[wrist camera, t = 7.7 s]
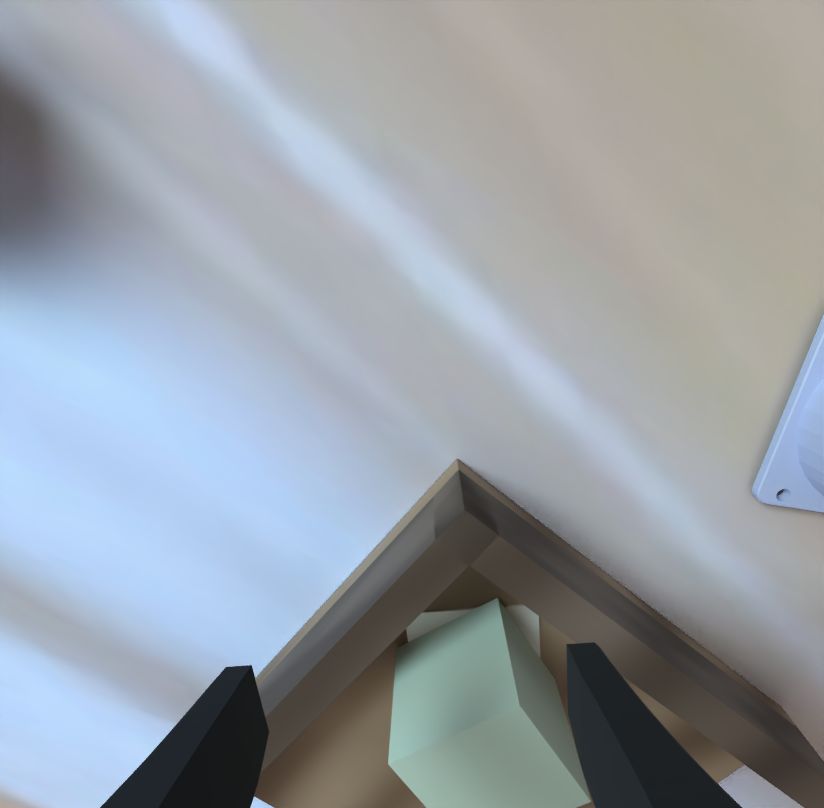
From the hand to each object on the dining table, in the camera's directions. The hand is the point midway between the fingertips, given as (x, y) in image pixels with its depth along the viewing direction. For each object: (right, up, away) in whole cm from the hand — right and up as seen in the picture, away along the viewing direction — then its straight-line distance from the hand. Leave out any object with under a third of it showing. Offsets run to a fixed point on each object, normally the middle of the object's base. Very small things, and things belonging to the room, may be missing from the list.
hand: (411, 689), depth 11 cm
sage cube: (+3, -5, +10) cm, 12 cm away
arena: (+3, -9, +13) cm, 16 cm away
